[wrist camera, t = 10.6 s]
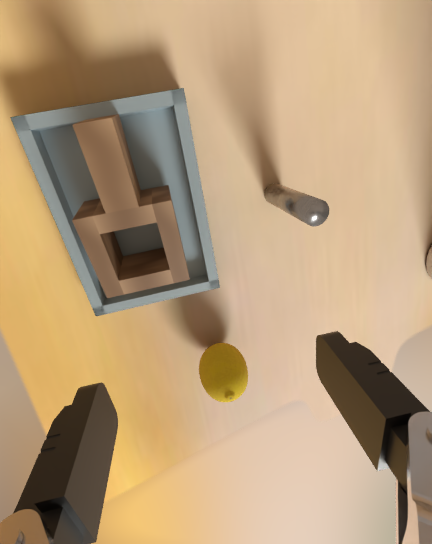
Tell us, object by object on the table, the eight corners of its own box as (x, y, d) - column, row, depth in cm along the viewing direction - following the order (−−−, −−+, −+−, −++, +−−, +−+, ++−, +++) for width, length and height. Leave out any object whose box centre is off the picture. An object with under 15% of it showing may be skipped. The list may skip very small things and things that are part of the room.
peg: (282, 181, 29) (329, 197, 21) (283, 201, 30) (329, 223, 22) (263, 185, 29) (303, 202, 20) (265, 204, 29) (304, 228, 21)
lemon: (205, 370, 37) (215, 424, 30) (188, 340, 35) (195, 392, 28) (243, 354, 37) (262, 404, 30) (229, 323, 35) (247, 370, 28)
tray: (181, 93, 24) (183, 87, 22) (215, 277, 32) (219, 287, 30) (25, 119, 23) (10, 117, 21) (100, 303, 31) (96, 316, 29)
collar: (150, 108, 22) (150, 111, 18) (185, 256, 29) (189, 279, 26) (52, 125, 21) (31, 131, 18) (113, 272, 29) (107, 298, 25)
